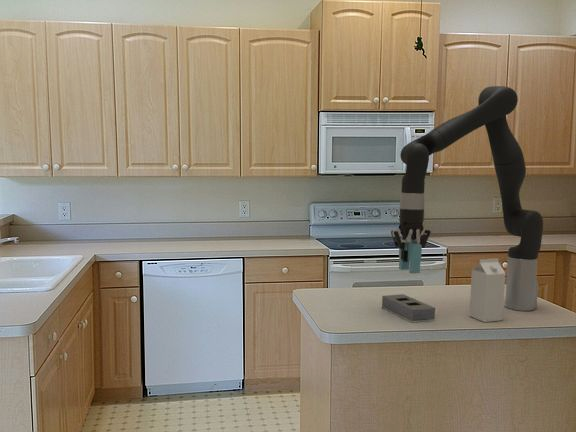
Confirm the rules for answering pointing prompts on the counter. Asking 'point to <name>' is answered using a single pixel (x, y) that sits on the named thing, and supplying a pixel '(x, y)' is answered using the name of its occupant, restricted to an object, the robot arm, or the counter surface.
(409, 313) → the grey socket block
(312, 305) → the counter surface
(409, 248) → the teal elongated block
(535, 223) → the robot arm
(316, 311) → the counter surface
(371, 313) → the counter surface
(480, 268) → the milk carton
